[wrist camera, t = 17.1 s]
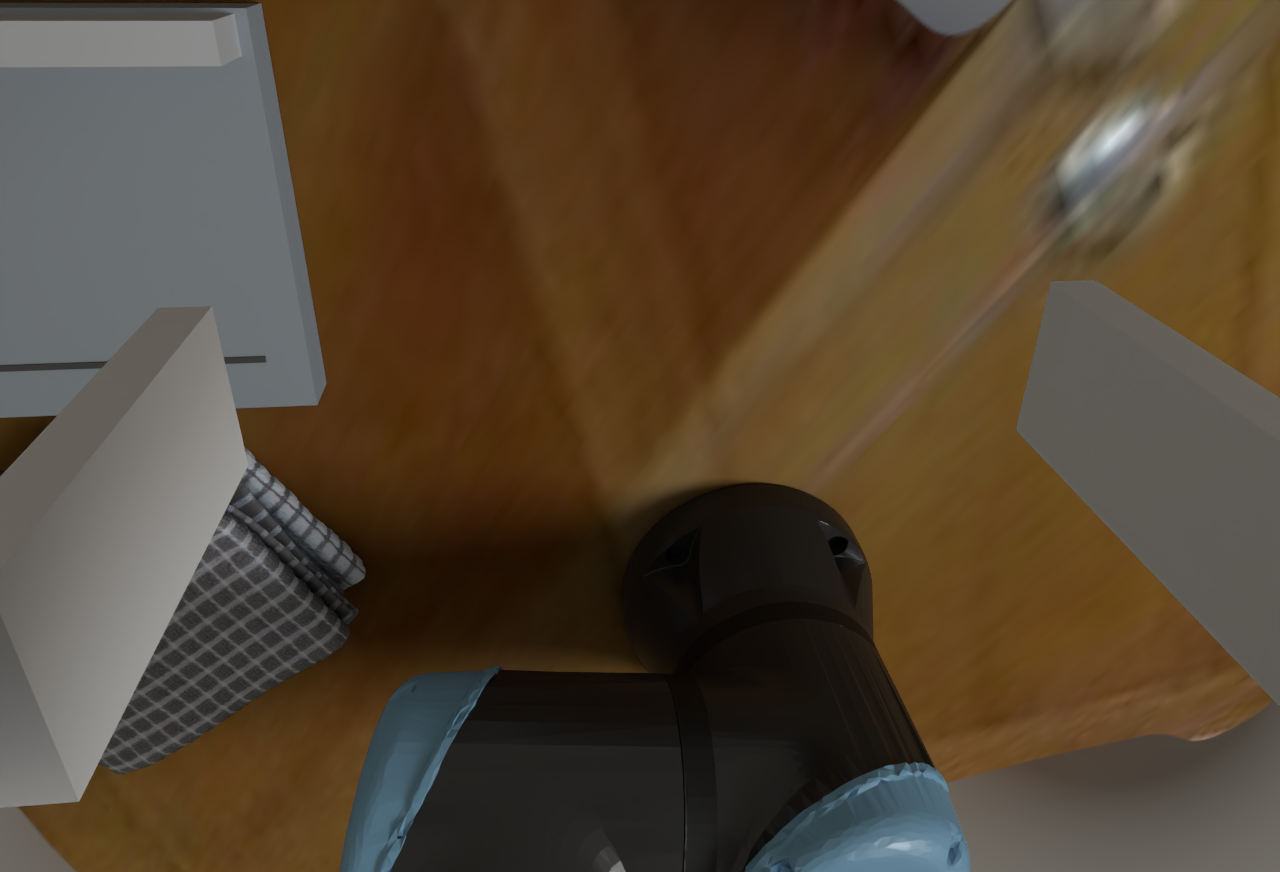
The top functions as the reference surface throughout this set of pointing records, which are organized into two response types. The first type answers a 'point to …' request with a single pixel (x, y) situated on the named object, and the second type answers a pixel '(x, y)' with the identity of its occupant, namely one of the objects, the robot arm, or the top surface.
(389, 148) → the top surface
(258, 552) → the towel
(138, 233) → the board
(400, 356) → the top surface
